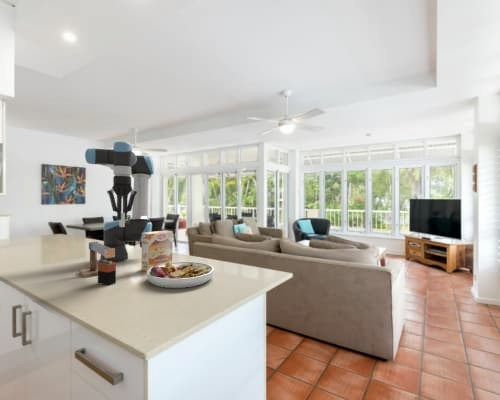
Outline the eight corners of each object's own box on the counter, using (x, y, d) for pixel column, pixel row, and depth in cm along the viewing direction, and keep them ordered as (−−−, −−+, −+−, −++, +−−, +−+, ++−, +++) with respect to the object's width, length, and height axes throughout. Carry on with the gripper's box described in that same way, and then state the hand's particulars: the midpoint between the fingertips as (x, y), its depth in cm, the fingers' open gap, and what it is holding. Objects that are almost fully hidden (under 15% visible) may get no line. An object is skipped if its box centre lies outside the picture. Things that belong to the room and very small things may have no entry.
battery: (106, 280, 126) (106, 258, 125) (116, 282, 123) (116, 260, 122) (97, 283, 122) (97, 260, 122) (107, 285, 119) (107, 262, 119)
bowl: (191, 268, 150) (191, 253, 150) (226, 280, 129) (226, 264, 129) (135, 279, 129) (136, 262, 129) (167, 296, 108) (167, 276, 108)
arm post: (101, 269, 143) (101, 246, 143) (107, 273, 136) (107, 249, 136) (79, 273, 136) (79, 249, 136) (84, 277, 129) (84, 252, 129)
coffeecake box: (148, 272, 140) (148, 233, 140) (140, 269, 144) (141, 232, 144) (173, 266, 152) (173, 231, 152) (165, 264, 156) (165, 230, 156)
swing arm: (96, 248, 139) (96, 241, 139) (115, 256, 120) (115, 248, 120) (87, 249, 136) (87, 241, 136) (105, 258, 117) (105, 249, 117)
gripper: (133, 177, 135) (132, 225, 135) (104, 175, 126) (104, 227, 126) (139, 176, 130) (139, 226, 130) (110, 174, 120) (109, 228, 121)
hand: (122, 226), depth 128 cm, fingers closed
